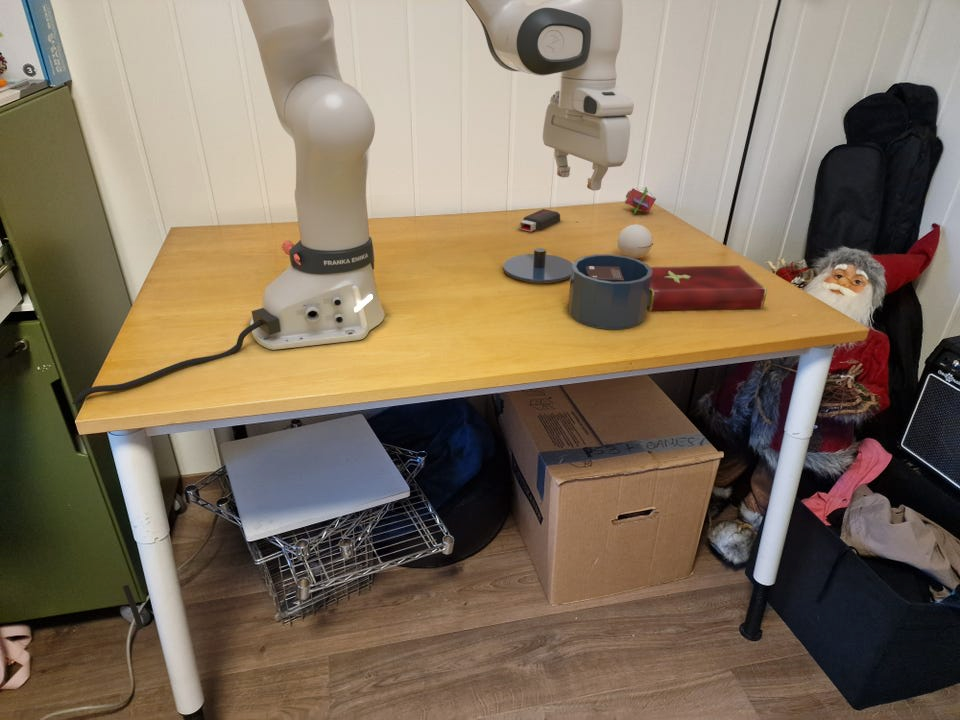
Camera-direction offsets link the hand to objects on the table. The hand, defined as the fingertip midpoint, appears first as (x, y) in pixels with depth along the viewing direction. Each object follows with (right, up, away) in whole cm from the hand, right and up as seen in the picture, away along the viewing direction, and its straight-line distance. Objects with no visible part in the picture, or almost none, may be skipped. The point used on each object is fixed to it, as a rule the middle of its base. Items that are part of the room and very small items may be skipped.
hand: (577, 182), depth 111 cm
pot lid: (-5, -12, +21) cm, 24 cm away
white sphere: (+17, -8, +29) cm, 35 cm away
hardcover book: (+24, -19, +11) cm, 32 cm away
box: (+5, -22, +4) cm, 23 cm away
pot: (+6, -22, +4) cm, 23 cm away
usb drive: (-2, +2, +48) cm, 48 cm away
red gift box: (+25, +8, +57) cm, 63 cm away
